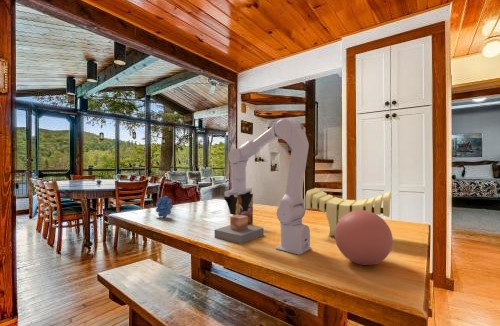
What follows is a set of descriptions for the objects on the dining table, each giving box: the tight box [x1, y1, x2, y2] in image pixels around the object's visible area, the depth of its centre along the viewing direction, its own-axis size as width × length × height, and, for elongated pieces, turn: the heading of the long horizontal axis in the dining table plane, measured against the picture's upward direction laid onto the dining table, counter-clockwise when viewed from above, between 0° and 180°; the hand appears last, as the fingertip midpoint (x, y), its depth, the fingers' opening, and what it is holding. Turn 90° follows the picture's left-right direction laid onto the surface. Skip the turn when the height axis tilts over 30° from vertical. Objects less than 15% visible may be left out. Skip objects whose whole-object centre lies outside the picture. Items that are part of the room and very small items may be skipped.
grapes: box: [155, 195, 174, 219], centre depth 139 cm, size 12×7×12 cm, turn 64°
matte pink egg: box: [334, 210, 394, 266], centre depth 76 cm, size 15×20×15 cm
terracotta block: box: [229, 215, 248, 231], centre depth 102 cm, size 5×5×5 cm
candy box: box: [232, 192, 254, 226], centre depth 119 cm, size 9×4×15 cm, turn 123°
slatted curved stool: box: [304, 187, 392, 238], centre depth 102 cm, size 30×16×18 cm, turn 59°
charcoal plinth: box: [214, 224, 264, 245], centre depth 102 cm, size 14×14×3 cm
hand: (239, 212), depth 102 cm, fingers open, 7 cm apart
